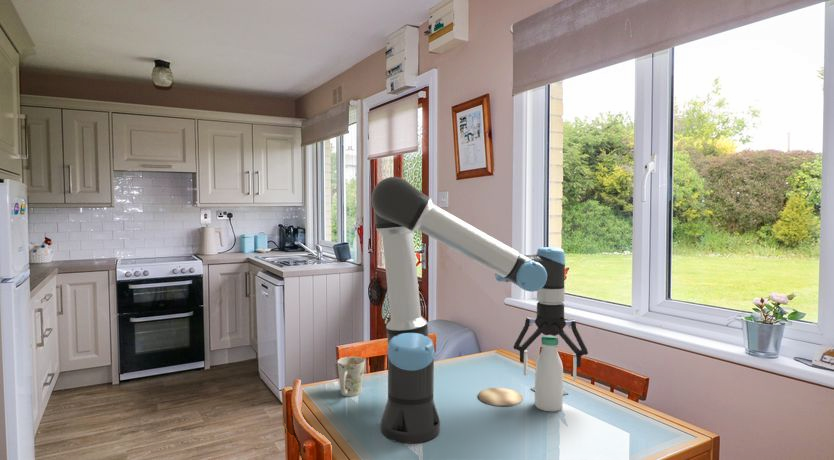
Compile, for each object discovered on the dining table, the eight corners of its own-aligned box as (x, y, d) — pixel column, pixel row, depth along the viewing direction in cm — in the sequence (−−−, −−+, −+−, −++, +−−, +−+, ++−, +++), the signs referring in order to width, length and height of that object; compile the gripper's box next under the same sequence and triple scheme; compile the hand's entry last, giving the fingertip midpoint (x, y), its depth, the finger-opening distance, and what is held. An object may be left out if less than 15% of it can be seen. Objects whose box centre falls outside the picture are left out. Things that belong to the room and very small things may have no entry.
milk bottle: (565, 412, 137) (567, 341, 137) (537, 412, 138) (539, 341, 137) (558, 401, 145) (559, 334, 144) (532, 401, 145) (533, 334, 144)
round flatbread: (493, 409, 139) (493, 407, 139) (470, 393, 151) (470, 391, 151) (531, 402, 145) (531, 400, 144) (506, 387, 156) (506, 385, 156)
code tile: (547, 398, 147) (547, 396, 147) (530, 389, 155) (530, 387, 155) (568, 394, 151) (568, 392, 151) (551, 385, 158) (551, 384, 158)
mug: (367, 388, 154) (367, 357, 154) (358, 404, 142) (358, 370, 142) (341, 387, 155) (341, 356, 155) (330, 403, 143) (330, 369, 142)
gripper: (596, 301, 140) (595, 375, 141) (507, 297, 147) (506, 367, 148) (598, 307, 133) (597, 384, 134) (504, 302, 140) (504, 376, 141)
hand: (549, 376), depth 141 cm, fingers open, 13 cm apart
